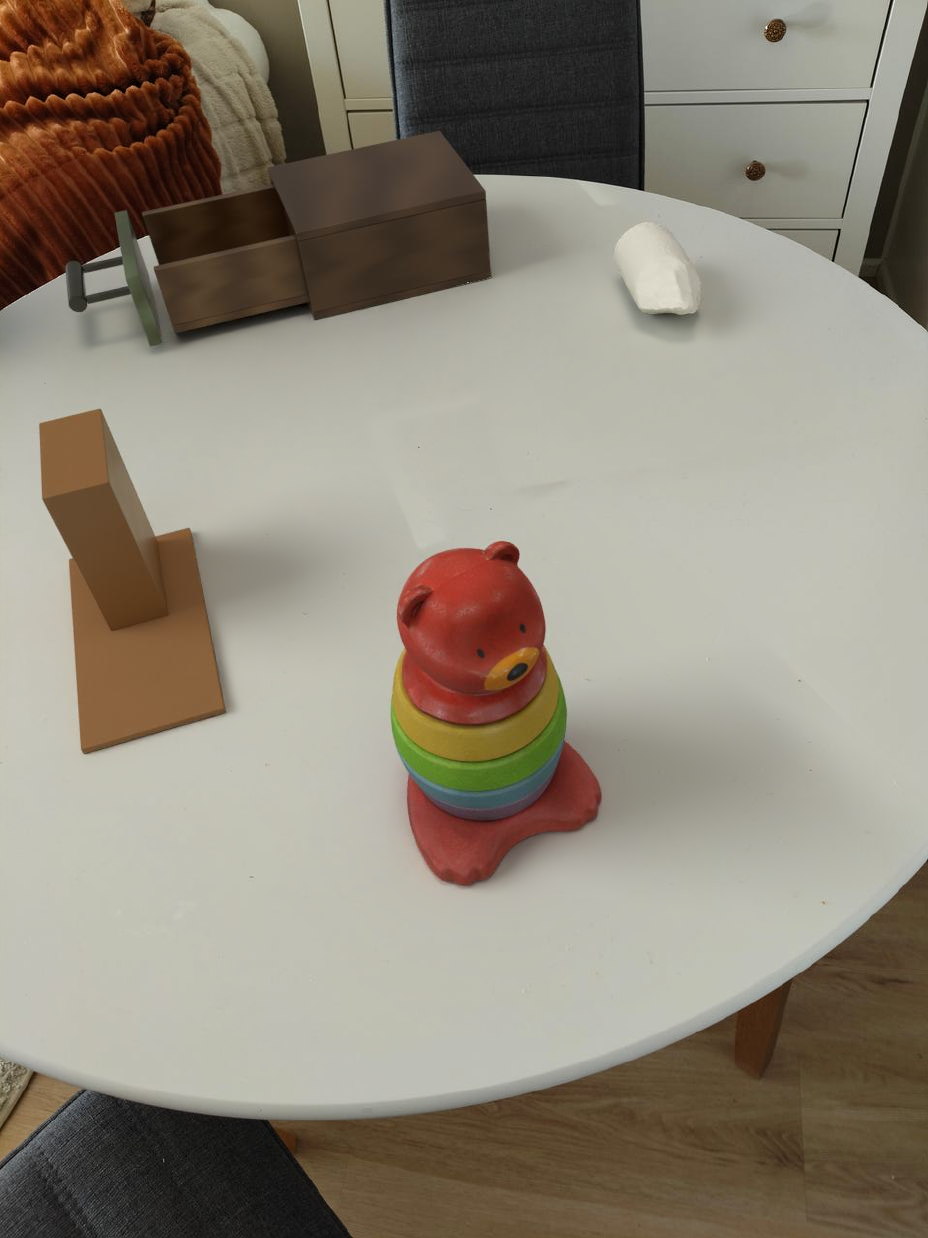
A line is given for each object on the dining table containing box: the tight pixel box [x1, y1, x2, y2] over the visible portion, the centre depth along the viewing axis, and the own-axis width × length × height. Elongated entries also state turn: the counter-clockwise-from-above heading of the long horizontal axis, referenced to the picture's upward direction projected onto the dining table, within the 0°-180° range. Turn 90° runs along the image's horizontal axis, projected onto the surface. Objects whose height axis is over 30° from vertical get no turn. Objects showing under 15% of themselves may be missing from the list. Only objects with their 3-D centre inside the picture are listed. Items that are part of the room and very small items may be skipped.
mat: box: [68, 527, 227, 755], centre depth 68 cm, size 18×9×1 cm, turn 18°
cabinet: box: [267, 130, 492, 321], centre depth 96 cm, size 18×15×9 cm
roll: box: [613, 221, 703, 316], centre depth 88 cm, size 6×12×6 cm, turn 8°
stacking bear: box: [390, 540, 603, 886], centre depth 51 cm, size 11×10×18 cm
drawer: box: [64, 183, 310, 347], centre depth 93 cm, size 22×13×7 cm, turn 108°
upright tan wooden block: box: [38, 408, 168, 631], centre depth 66 cm, size 8×4×12 cm, turn 18°
